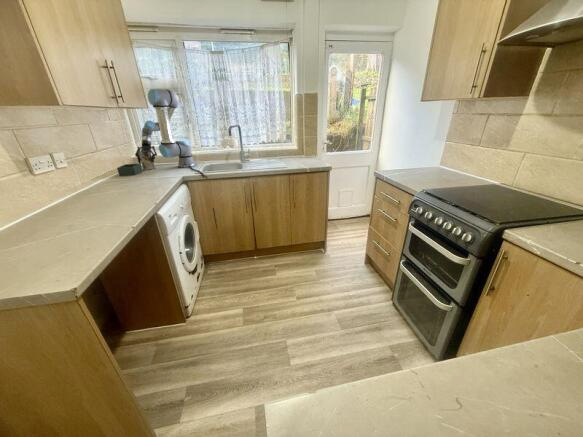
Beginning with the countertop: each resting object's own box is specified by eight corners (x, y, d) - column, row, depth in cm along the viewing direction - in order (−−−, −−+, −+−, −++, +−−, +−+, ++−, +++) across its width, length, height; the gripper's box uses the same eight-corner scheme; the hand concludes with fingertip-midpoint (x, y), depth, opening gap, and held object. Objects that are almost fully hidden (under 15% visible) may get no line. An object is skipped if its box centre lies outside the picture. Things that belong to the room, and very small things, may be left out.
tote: (127, 172, 216) (125, 164, 213) (142, 171, 218) (140, 163, 215) (119, 176, 203) (116, 167, 200) (135, 175, 204) (133, 166, 202)
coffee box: (153, 167, 230) (149, 150, 224) (155, 168, 226) (150, 150, 219) (143, 169, 225) (138, 151, 219) (144, 170, 221) (139, 152, 214)
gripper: (161, 144, 234) (161, 163, 226) (134, 145, 229) (133, 165, 221) (158, 138, 227) (158, 158, 219) (131, 140, 222) (130, 160, 214)
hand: (146, 162), depth 220 cm, fingers closed on coffee box, 11 cm apart
